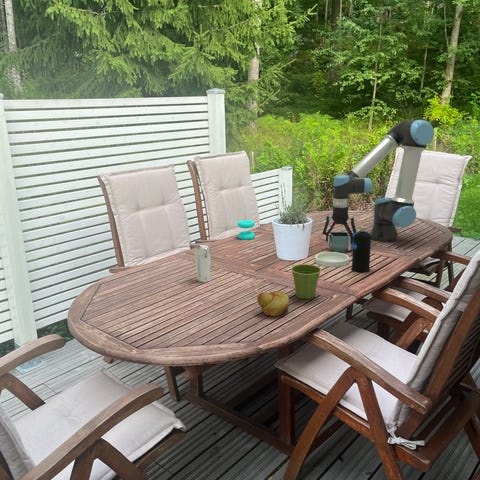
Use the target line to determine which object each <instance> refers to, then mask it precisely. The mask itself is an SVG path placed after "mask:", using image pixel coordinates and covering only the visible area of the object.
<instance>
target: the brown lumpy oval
mask: <svg viewBox="0 0 480 480" xmlns="http://www.w3.org/2000/svg"><path fill="white" fill-rule="evenodd" d="M256 298H257V300H256V301H257V304H258V306H260V308H261V311H262V312H263V313H264V315H267V316H270V317H279V316H280V315H281V314H283V313H284V312H287V310H288V309H289V306H290V298H289V297H288V295H287V294H286V293H285V291H278V290H274V291H270V292H269V293H268V292H260V293H258V295H257V297H256Z"/></svg>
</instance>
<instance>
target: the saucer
mask: <svg viewBox="0 0 480 480" xmlns="http://www.w3.org/2000/svg"><path fill="white" fill-rule="evenodd" d="M350 260H351V259H350V256H349V255H347V254H346V253H344V252H334V251H322V252H319V253H316V254H315V255H314V262H315V263H316V264H317V265H319V266H323V267H330V268H331V267H332V268H337V267H344V266H347V265H349V264H350Z"/></svg>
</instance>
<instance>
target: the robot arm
mask: <svg viewBox="0 0 480 480" xmlns="http://www.w3.org/2000/svg"><path fill="white" fill-rule="evenodd" d="M434 134H435V131H434V127H433V125H432V124H431V123H430V122H429V121H428V120H423V119H407V120H406V119H405V120H402V121H400V122H398V123H397V124H396V125H394V126H393V127H391V129H390V130H388V131H387V132H386V133H385V134H384V135H383V139H382V140H381V141H379V142H378V144H377V145H375V146H374V147H373V148H372V149H371V150H370V151H369V152H368V153H367V154H366V155H365V156H364V157H362V159H360V161H359V162H358V163H357V164H356V165H354V166H353V167H352V168H351V169H350V170H349V171H348V172H347V173H345V174H338V175H337V174H336V175H335V176H334V177H333V178H334V179H333V198H332V205H333V207H332V215H327V216H326V218H325V219H326V221H325V223H324V228H323V230H322V235H324V236H325V242H327V249H330V248H331V237H330V236H331V235H330V232H332V231H333V230H334V228H335V226H336V225H341V226H342V225H343V227H345V230H346V232H347V233H348V235H349V241H348V246H347V248H348V249H347V250H348V251H351V248H352V245H353V235H354V234H355V233H356V232H357V229H356V225H355V217H354V216H349V199H350V195H355V194H366V193H367V194H369V193H370V192H371V191H372V189H373V182H372V180H371V179H370V177H366V176H367V174H369V173H370V172H371V171H372V170H373V169H374V168H375V167H376V166H377V165H378V164H379V163H380V162H382V160H384V159H385V157H386V156H388V155H389V153H391V152H392V151H393V150H394V149H398V148H399V147H400V146H401V147H402V149H403V154H402V157H401V158H402V159H401V163H400V169H399V174H398V178H397V184H396V188H395V193H394V196H393V197H380V198H376V199H375V200H374V205H373V206H374V210H373V211H374V212H373V224H372V227H371V231H369V234H370V235H371V236H372V238H371V241H376V242H381V243H382V242H383V243H390V242H396V241H397V240H398V238H399V235H398V231H397V227H399V228H406V227H407V228H408V227H410V226H411V225H412V224H413V223H414V222H415V220H416V218H417V212H416V209H415V208H414V206H415V201H414V200H413V194H414V190H415V187H416V182H417V176H418V171H419V168H420V162H421V158H422V153H423V152H424V151H425V150H426V148H427V145H428V144H430V142H431V141H433V139H434ZM331 220H332V221H333V223H332V224H331V226H330V227H329V229H328V226H329V223H330V221H331ZM347 221H349V222H350V226H351V229H352V230H351V229H350V226H349V224H348V222H347ZM327 230H328V231H327Z"/></svg>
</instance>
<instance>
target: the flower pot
mask: <svg viewBox="0 0 480 480" xmlns="http://www.w3.org/2000/svg"><path fill="white" fill-rule="evenodd" d="M329 235H331V236H330V245H331V247H332V250H333V252H339V253H345V252H346V250H347V248H348V246H349V237H350V235H349V234H348V232H347V231H346V232H345V231H331V232H330V233H329Z"/></svg>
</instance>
